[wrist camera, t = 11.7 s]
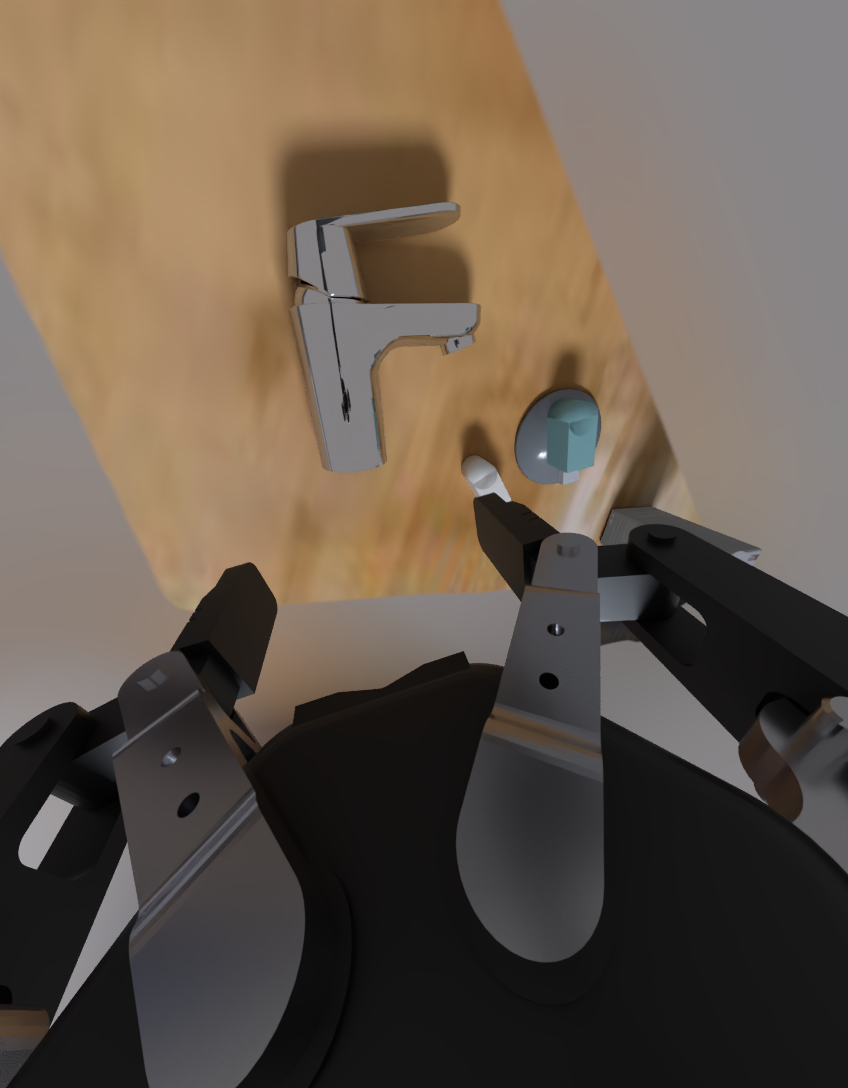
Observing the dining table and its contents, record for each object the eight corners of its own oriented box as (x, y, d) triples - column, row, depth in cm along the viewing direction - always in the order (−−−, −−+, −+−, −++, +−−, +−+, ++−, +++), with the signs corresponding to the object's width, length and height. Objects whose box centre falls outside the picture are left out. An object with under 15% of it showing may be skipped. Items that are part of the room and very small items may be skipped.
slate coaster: (512, 402, 38) (514, 402, 37) (602, 378, 38) (605, 378, 38) (516, 492, 44) (518, 494, 43) (593, 470, 45) (596, 471, 44)
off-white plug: (457, 464, 40) (467, 473, 37) (478, 450, 40) (490, 458, 36) (484, 513, 44) (496, 525, 41) (503, 500, 44) (517, 512, 41)
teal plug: (547, 402, 38) (570, 406, 34) (574, 394, 38) (599, 398, 34) (546, 480, 43) (566, 491, 39) (570, 473, 44) (592, 483, 40)
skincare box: (597, 542, 52) (685, 604, 39) (612, 502, 49) (714, 555, 35) (639, 539, 54) (736, 597, 40) (656, 501, 50) (769, 550, 37)
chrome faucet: (322, 476, 30) (257, 176, 20) (321, 458, 36) (271, 219, 26) (486, 454, 34) (501, 195, 24) (462, 442, 40) (465, 228, 30)
